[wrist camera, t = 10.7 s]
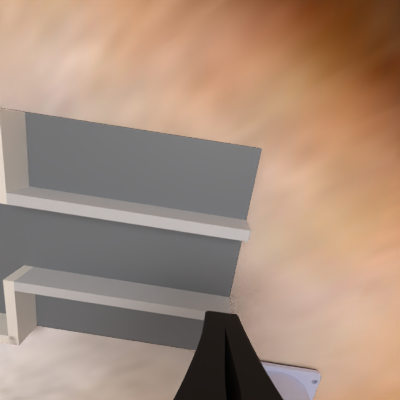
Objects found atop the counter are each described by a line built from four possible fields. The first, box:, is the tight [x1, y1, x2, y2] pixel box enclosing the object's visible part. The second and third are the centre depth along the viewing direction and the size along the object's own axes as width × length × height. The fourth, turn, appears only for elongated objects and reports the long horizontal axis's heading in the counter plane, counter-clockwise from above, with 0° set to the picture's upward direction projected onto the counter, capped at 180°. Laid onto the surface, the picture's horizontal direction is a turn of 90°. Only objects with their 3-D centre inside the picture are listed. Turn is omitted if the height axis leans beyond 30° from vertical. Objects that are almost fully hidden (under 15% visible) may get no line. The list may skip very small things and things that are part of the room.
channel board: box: [0, 108, 262, 350], centre depth 18 cm, size 18×33×3 cm, turn 81°
